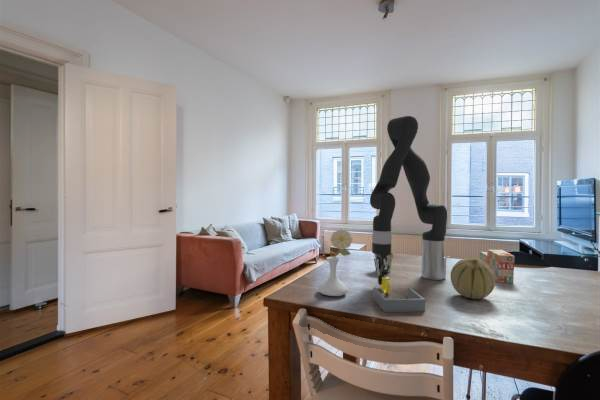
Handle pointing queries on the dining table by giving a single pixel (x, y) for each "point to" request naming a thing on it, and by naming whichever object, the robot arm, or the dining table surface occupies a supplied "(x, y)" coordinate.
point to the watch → (387, 287)
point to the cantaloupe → (472, 278)
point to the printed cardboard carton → (500, 264)
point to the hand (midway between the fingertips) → (381, 284)
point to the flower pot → (388, 260)
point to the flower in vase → (333, 284)
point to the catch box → (400, 302)
